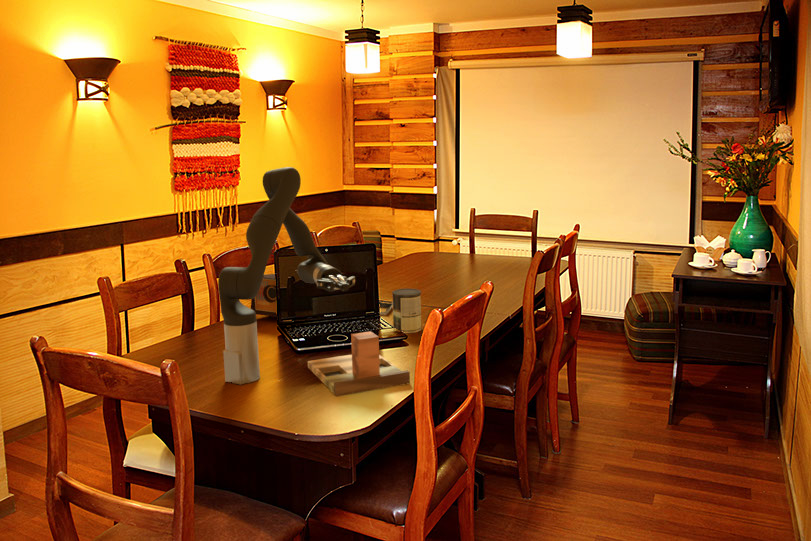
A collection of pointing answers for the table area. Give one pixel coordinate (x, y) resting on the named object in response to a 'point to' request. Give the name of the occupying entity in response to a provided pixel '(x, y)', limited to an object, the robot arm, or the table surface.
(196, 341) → the table surface
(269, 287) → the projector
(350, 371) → the trap box
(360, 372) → the block
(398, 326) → the coffee can
